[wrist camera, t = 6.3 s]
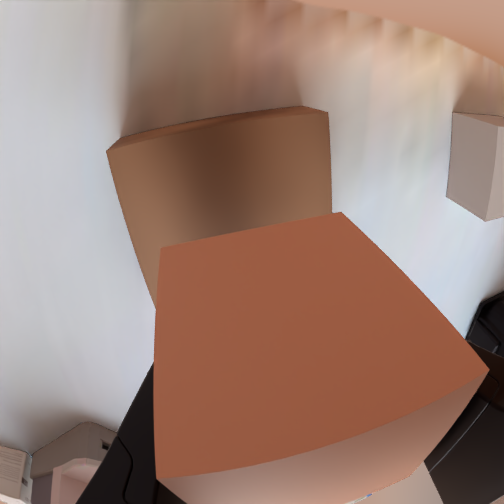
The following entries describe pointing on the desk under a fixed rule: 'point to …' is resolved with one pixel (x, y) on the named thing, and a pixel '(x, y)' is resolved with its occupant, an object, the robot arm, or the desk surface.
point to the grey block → (477, 164)
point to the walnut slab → (220, 178)
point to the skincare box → (15, 476)
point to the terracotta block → (298, 367)
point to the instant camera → (68, 464)
